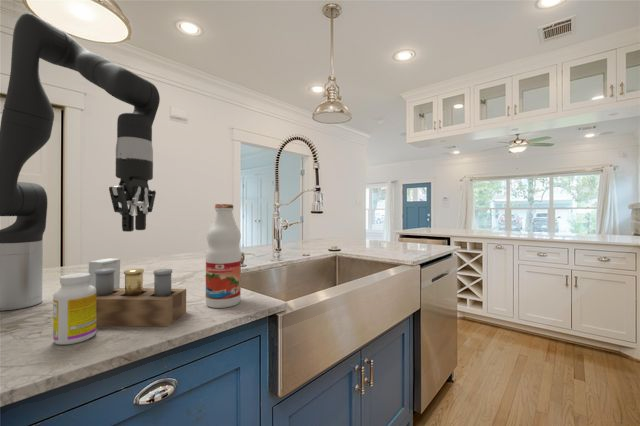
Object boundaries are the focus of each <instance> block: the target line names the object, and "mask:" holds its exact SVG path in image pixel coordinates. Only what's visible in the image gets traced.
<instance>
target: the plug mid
mask: <svg viewBox="0 0 640 426" xmlns="http://www.w3.org/2000/svg"><path fill="white" fill-rule="evenodd" d="M144 272H145V269H144V268H129V269H125V270H124V271H123V274H124V288H125V296H139V295H141V294H143V287H144Z"/></svg>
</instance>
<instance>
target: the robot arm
mask: <svg viewBox="0 0 640 426" xmlns="http://www.w3.org/2000/svg"><path fill="white" fill-rule="evenodd" d="M11 44H12V45H11V46H12V47H11V59H10V61H11V63H10V73H9V81H8V86H7V90H6V97H5V100H4V104H3V109H2V113H1V117H0V118H1V119H0V217H16V219H15V221H14V222H13V223H12V224H10V225H9V226H6V227H4V228H2V229H0V311H13V310H18V309H19V310H20V309H25V308H30V307H33V306H36V305H38V304H40V303H43V276H44V275H43V272H44V271H43V269H44V268H43V265H44V264H43V260H44V259H43V248H44V247H43V246H44V245H43V242H44V241H43V237H44V236H43V235H44V233H45V232H46V227H47V226H46V225H47V217H48V216H47V215H48V195H47V192H46V190H45V188H44V187H43V186H42V185H40V184H38V183H36V182H34V183H33V182H24V181H18V180H19V176H20V173H21V171H22V168H23V166H24V165H25V164H26V163H27V161H28V160H29V159H31V157H32V156H34V155H35V154H36V153H37V152H38V151H39V150H41V148H43V147H44V146H45V145H46V144H47V143H48V142H49V140H50V139H51V136H52V131H53V125H54V121H55V113H54V109H53V106H52V103H51V101H50V98H49V97H48V95H47V93H46V91H45V88H44V85H43V84H42V82H41V78H40V72H39V71H40V59H41V60H43V61H45V62H47V63H49V64H52V65H56V66H60V67H62V68H66V69H69V70H72V71H75V72H78V73H79V74H80V75H81V76H82V78H84V79H85V80H87V81H88V82H90V83H92V84H93V85H95V86H97V88H98V87H99V88H100V89H102V90H104V91H105V92H106V93H107V94H109V95H110V96H111V97H113V98H115V99H116V100H119V101H121V102H123V103H126V104H128V105H131V106H133V107H134V108H133V112H123V113H121V114H119V115H118V117H117V119H116V120H117V123H116V127H117V128H116V129H117V130H116V143H115V177H116V178H117V179H120V180H119V183H118V185H114V186H113V185H112V186H109V188H108V191H109V195H110V200H111V203H112V208H113V211H114V212H115V213H118V214H119V215H120V216H121V228H122V229H121V230H122V232H133V231H134V230H136V231H145V230H146V228H147V215H149V213H152V212H153V208H154V204H155V199H156V195H157V191H156V190H151V189H150V186H149V183H148V182H149V181H151V180H153V178H154V149H153V126H154V125H153V124H154V121H155V120H156V119H155V118H156V115H157V112H158V108H159V106H160V102H161V97H160V92H159V90H158V88H157V86H156V85H155V84H153V83H152V82H151V81H149V80H147V79H146V78H144V77H142V76H140V75H139V74H136V73H134V72H133V71H131V70H128V69H126V68H125V67H122V66H120V65H118V64H117V63H115V62H114V61H111V60H110V59H108V58H107V57H104V56H103V55H99V53H95V52H92V51H90V50H88V49H86V48H85V47H84V46H83V45H81V44H80V43H79V42H78V41H77V40H76V39H74V38H73V37H72V36H71V35H69V34H68V33H67V32H66V31H64V30H62V29H60V28H59V27H57V26H56V25H53V24H52V23H50V22H48V21H46V20H45V19H44V18H41V17H39V16H37V15H36V14H34V13H30V12H26V13H23V14H21V15H20V16H19V17H18V18H17V20H16V22H15V24H14V29H13V33H12V43H11ZM119 204H120V205H119ZM134 213H135V216H134ZM134 222H135V223H134ZM134 225H135V226H134Z"/></svg>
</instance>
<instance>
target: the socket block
mask: <svg viewBox="0 0 640 426" xmlns="http://www.w3.org/2000/svg"><path fill="white" fill-rule="evenodd" d="M186 313H187V288H171V295H169V296H167V297H154V287H153V288H143V294H141V295H139V296H125V287H120V288H114V293H113V294H111V295H108V296H96V327H97V326H99V327H100V326H101V327H102V326H103V327H106V326H107V327H108V326H110V327H112V326H115V327H168V326H170V325H171V324H173V322H175V321H177V320H178V319H179V318H180V317H182V316H183V315H184V314H186Z"/></svg>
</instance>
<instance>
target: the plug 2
mask: <svg viewBox="0 0 640 426" xmlns="http://www.w3.org/2000/svg"><path fill="white" fill-rule="evenodd" d="M152 272H153V275H154V277H153V279H154V283H153V285H154V287H153V288H154V297H167V296H169V295H171V289H172V273H173V269H171V268H161V269H160V268H159V269H156V270H153V271H152Z"/></svg>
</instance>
